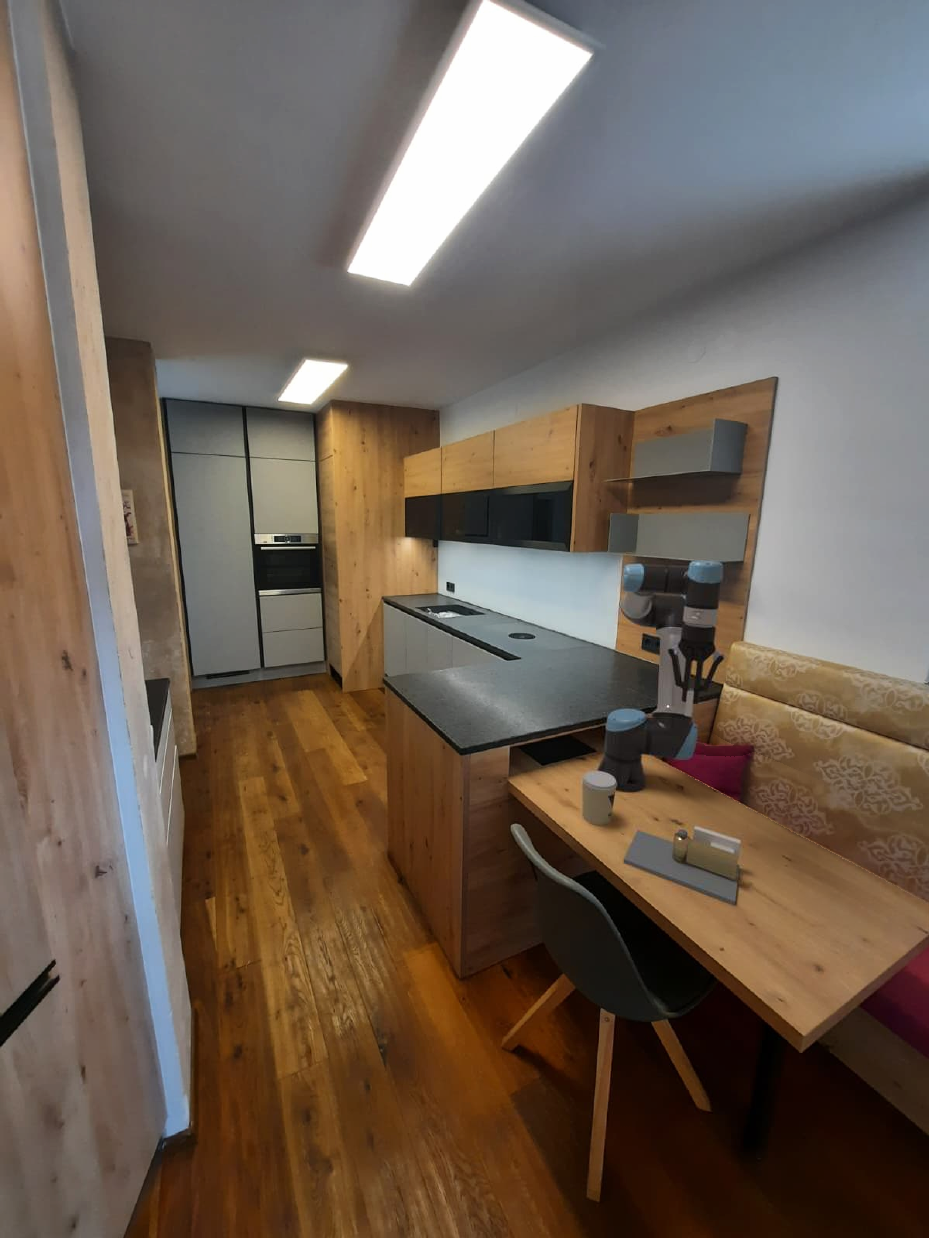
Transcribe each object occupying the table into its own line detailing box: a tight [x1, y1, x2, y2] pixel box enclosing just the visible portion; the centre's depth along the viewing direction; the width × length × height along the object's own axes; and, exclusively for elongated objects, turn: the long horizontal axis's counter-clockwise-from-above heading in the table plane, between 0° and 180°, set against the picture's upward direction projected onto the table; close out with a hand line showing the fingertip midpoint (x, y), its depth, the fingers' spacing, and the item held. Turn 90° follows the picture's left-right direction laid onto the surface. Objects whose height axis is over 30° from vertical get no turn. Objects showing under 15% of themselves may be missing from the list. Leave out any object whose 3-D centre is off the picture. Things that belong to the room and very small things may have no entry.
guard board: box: [623, 825, 741, 906], centre depth 116 cm, size 14×24×8 cm, turn 57°
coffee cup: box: [581, 770, 617, 826], centre depth 135 cm, size 9×9×12 cm
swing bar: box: [672, 832, 740, 880], centre depth 115 cm, size 14×4×6 cm, turn 57°
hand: (688, 714), depth 122 cm, fingers closed
